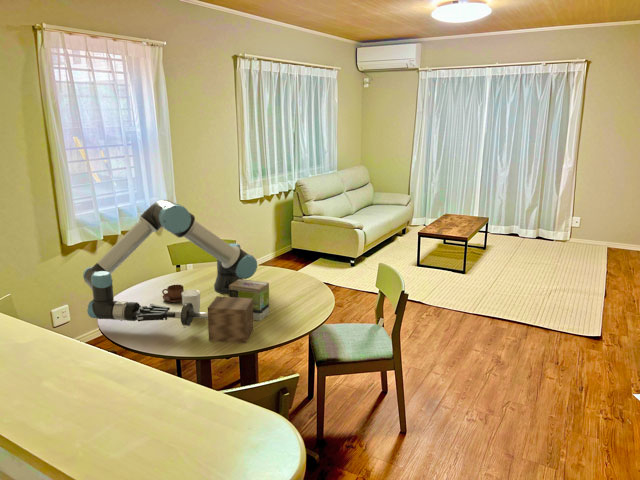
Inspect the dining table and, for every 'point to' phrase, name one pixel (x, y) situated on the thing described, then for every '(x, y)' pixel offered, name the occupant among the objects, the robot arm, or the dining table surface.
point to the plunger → (190, 314)
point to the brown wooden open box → (230, 319)
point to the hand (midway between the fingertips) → (184, 314)
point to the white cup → (192, 299)
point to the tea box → (252, 295)
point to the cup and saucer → (173, 293)
